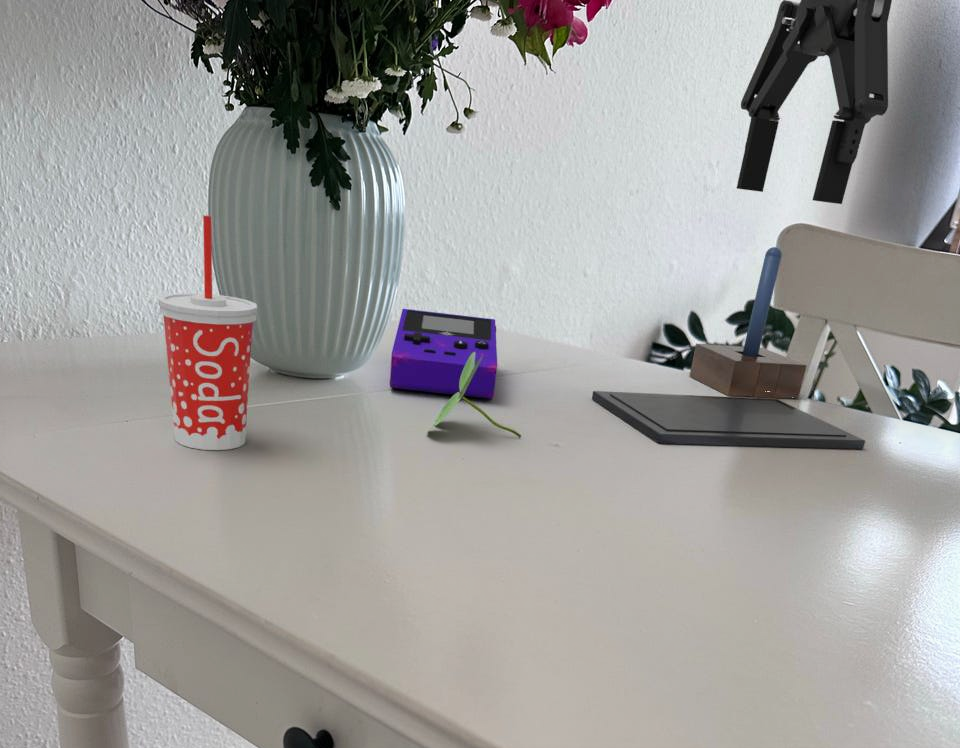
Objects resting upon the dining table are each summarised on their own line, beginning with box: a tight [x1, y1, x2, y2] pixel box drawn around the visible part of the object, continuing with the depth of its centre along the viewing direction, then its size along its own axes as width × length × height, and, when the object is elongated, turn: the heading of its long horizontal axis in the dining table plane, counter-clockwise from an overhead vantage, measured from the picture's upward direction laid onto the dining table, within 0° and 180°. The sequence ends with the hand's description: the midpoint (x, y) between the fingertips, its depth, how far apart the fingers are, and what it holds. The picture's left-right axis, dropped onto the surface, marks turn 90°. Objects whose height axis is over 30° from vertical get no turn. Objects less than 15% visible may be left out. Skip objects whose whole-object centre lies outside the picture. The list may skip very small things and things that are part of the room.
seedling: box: [428, 352, 522, 439], centre depth 74 cm, size 7×8×7 cm
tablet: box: [591, 390, 866, 450], centre depth 86 cm, size 20×14×1 cm
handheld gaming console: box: [389, 308, 498, 400], centre depth 89 cm, size 9×5×15 cm
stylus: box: [742, 246, 783, 357], centre depth 99 cm, size 2×2×14 cm
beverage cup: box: [157, 214, 258, 451], centre depth 62 cm, size 6×6×14 cm
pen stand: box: [688, 343, 808, 399], centre depth 102 cm, size 8×8×4 cm
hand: (785, 196), depth 94 cm, fingers open, 13 cm apart
